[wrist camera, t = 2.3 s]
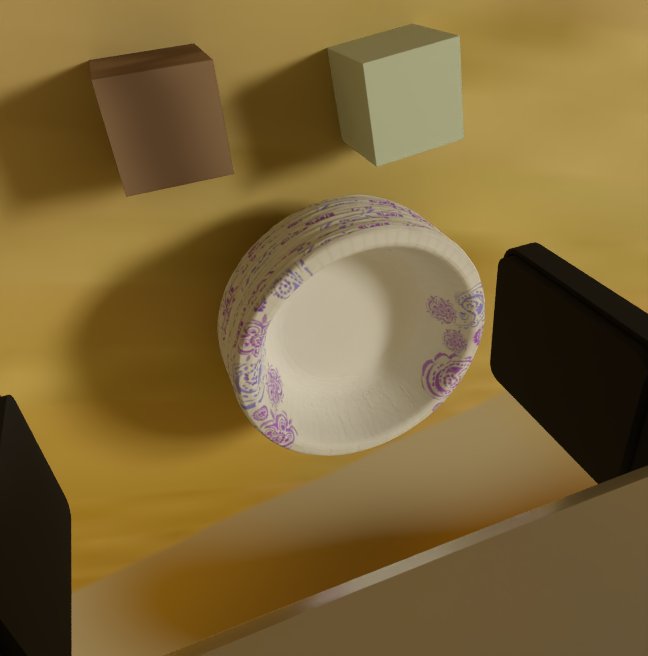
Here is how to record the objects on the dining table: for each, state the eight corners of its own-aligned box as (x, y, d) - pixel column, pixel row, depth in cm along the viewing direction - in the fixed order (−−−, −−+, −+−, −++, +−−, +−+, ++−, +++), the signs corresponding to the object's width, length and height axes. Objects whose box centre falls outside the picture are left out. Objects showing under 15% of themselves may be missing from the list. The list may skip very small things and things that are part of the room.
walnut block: (193, 43, 29) (212, 59, 25) (214, 144, 32) (234, 173, 28) (88, 60, 28) (91, 79, 24) (119, 163, 31) (126, 196, 27)
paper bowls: (436, 337, 45) (495, 402, 39) (245, 414, 42) (275, 496, 36) (413, 141, 36) (486, 185, 30) (169, 225, 33) (192, 292, 27)
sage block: (412, 23, 32) (459, 35, 28) (419, 115, 35) (463, 138, 31) (326, 47, 31) (362, 63, 27) (341, 140, 34) (376, 166, 30)
